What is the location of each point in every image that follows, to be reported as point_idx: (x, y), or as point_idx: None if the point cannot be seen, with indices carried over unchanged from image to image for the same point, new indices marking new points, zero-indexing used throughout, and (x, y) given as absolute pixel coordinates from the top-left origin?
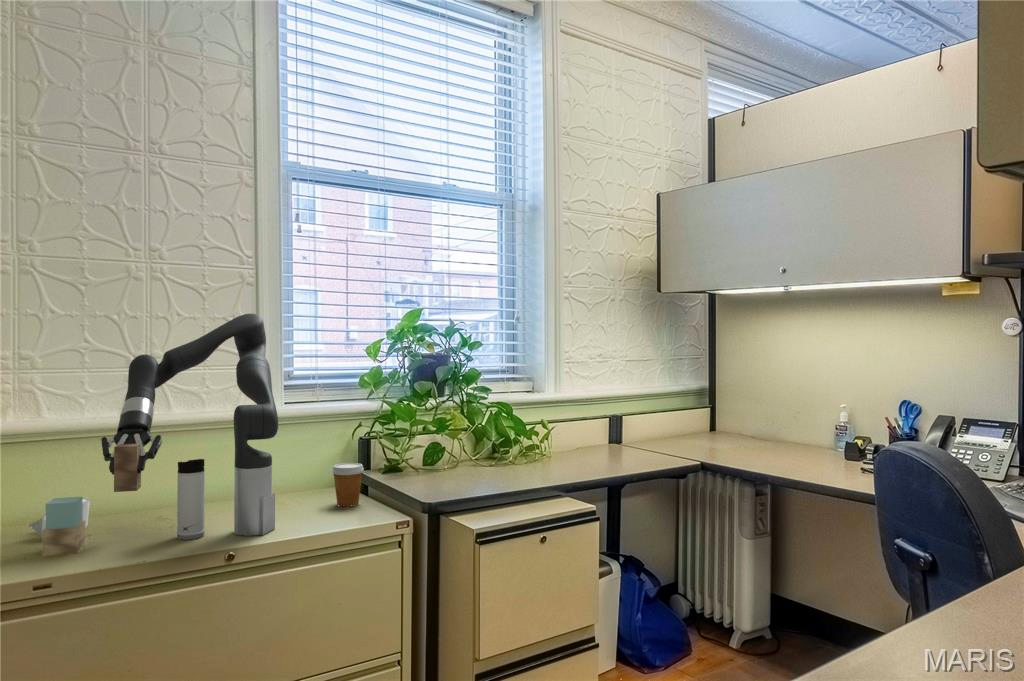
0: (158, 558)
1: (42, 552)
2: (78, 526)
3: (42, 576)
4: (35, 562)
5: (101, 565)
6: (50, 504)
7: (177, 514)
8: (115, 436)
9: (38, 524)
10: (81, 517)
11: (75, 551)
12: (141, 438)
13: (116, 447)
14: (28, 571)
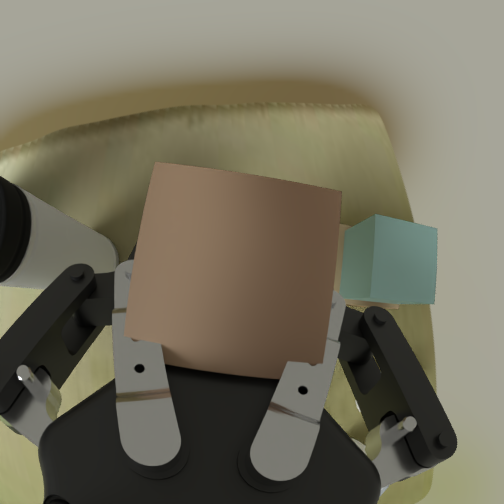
0: (166, 127)
1: None
2: (339, 238)
3: (344, 118)
4: (377, 205)
5: (263, 128)
6: (427, 227)
7: (98, 252)
8: (371, 478)
9: None
10: (344, 288)
11: None
12: (113, 425)
13: (323, 190)
14: (373, 156)
